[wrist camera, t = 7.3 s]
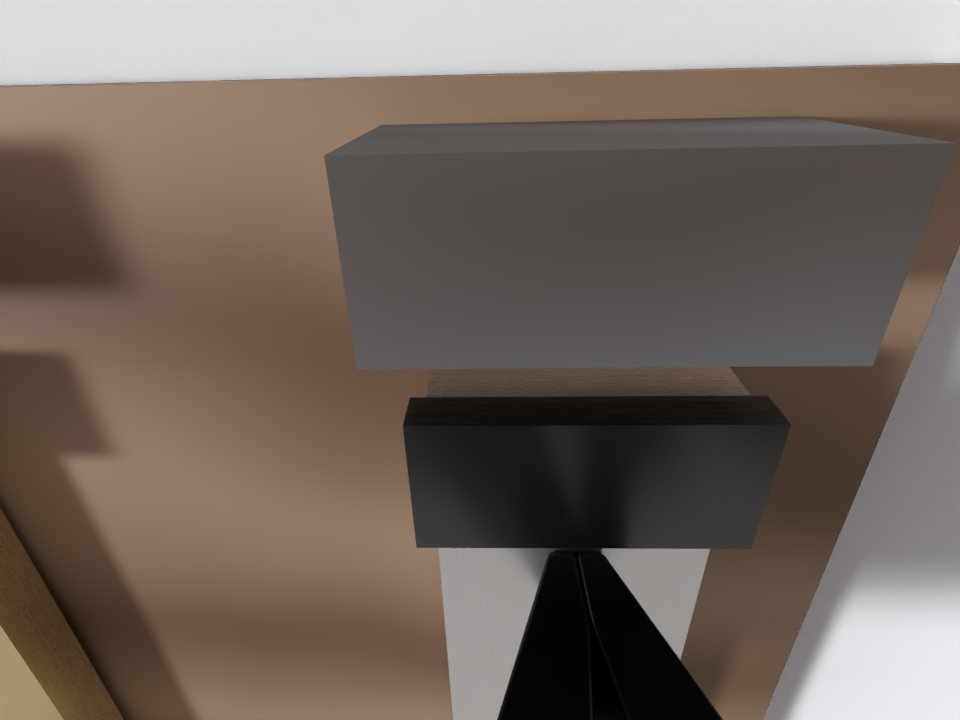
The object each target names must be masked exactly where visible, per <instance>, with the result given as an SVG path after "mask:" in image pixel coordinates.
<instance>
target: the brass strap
mask: <svg viewBox="0 0 960 720" xmlns="http://www.w3.org/2000/svg"><path fill="white" fill-rule="evenodd" d="M0 720H124V719H123V717H122V716H121V714H120V712H119V710H118V709H117V707H116V705H115V704H114V702H113V700H112V698H111V697H110V695H109V693H108V692H107V690H106V688H105V686H104V685H103V683H102V681H101V680H100V678H99V676H98V674H97V673H96V671H95V669H94V668H93V666H92V664H91V662H90V661H89V659H88V657H87V656H86V654H85V652H84V650H83V649H82V647H81V645H80V643H79V642H78V640H77V638H76V637H75V635H74V633H73V631H72V630H71V628H70V626H69V625H68V623H67V621H66V619H65V618H64V616H63V614H62V613H61V611H60V609H59V607H58V606H57V604H56V602H55V601H54V599H53V597H52V595H51V594H50V592H49V590H48V589H47V587H46V585H45V583H44V582H43V580H42V578H41V577H40V575H39V573H38V571H37V570H36V568H35V566H34V565H33V563H32V561H31V559H30V558H29V556H28V554H27V552H26V551H25V549H24V547H23V546H22V544H21V542H20V540H19V539H18V537H17V535H16V534H15V532H14V530H13V528H12V527H11V525H10V523H9V522H8V520H7V518H6V516H5V515H4V513H3V511H2V510H1V508H0Z"/></svg>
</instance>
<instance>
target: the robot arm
mask: <svg viewBox="0 0 960 720" xmlns="http://www.w3.org/2000/svg"><path fill="white" fill-rule="evenodd" d="M497 720H723V718H722V717H721V716H720V714H719V713H718V712H717V710H716V709H715V707H714V706H713V705H712V703H711V702H710V700H709V699H708V698H707V696H706V695H705V694H704V692H703V691H702V689H701V688H700V687H699V685H698V684H697V682H696V681H695V680H694V678H693V677H692V676H691V674H690V673H689V671H688V670H687V669H686V667H685V666H684V664H683V663H682V662H681V660H680V659H679V658H678V656H677V655H676V653H675V652H674V651H673V649H672V648H671V646H670V645H669V644H668V642H667V641H666V640H665V638H664V637H663V635H662V634H661V633H660V631H659V630H658V628H657V627H656V626H655V624H654V623H653V621H652V620H651V619H650V617H649V616H648V615H647V613H646V612H645V610H644V609H643V608H642V606H641V605H640V603H639V602H638V601H637V599H636V598H635V597H634V595H633V594H632V592H631V591H630V590H629V588H628V587H627V585H626V584H625V583H624V581H623V580H622V579H621V577H620V576H619V574H618V573H617V572H616V570H615V569H614V567H613V566H612V565H611V563H610V562H609V561H608V559H607V558H606V557H605V556H604V555H603V554H602V553H598V552H580V553H578V554H576V556H575V555H574V554H573V553H571V552H551V553H549V554H548V556H547V559H546V562H545V565H544V568H543V572H542V575H541V578H540V581H539V585H538V588H537V591H536V595H535V598H534V601H533V604H532V608H531V611H530V614H529V617H528V621H527V624H526V627H525V630H524V634H523V637H522V640H521V643H520V647H519V650H518V653H517V656H516V660H515V663H514V666H513V669H512V673H511V676H510V679H509V682H508V686H507V689H506V692H505V695H504V699H503V702H502V705H501V708H500V712H499V715H498V718H497Z"/></svg>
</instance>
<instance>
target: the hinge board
mask: <svg viewBox="0 0 960 720" xmlns="http://www.w3.org/2000/svg"><path fill="white" fill-rule="evenodd" d="M959 245H960V63H934V64H892V65H850V66H808V67H766V68H724V69H682V70H640V71H598V72H557V73H515V74H473V75H431V76H389V77H347V78H305V79H263V80H221V81H179V82H138V83H96V84H54V85H12V86H0V508H1V510H2V511H3V513H4V515H5V516H6V518H7V520H8V522H9V523H10V525H11V527H12V528H13V530H14V532H15V534H16V535H17V537H18V539H19V540H20V542H21V544H22V546H23V547H24V549H25V551H26V552H27V554H28V556H29V558H30V559H31V561H32V563H33V565H34V566H35V568H36V570H37V571H38V573H39V575H40V577H41V578H42V580H43V582H44V583H45V585H46V587H47V589H48V590H49V592H50V594H51V595H52V597H53V599H54V601H55V602H56V604H57V606H58V607H59V609H60V611H61V613H62V614H63V616H64V618H65V619H66V621H67V623H68V625H69V626H70V628H71V630H72V631H73V633H74V635H75V637H76V638H77V640H78V642H79V643H80V645H81V647H82V649H83V650H84V652H85V654H86V656H87V657H88V659H89V661H90V662H91V664H92V666H93V668H94V669H95V671H96V673H97V674H98V676H99V678H100V680H101V681H102V683H103V685H104V686H105V688H106V690H107V692H108V693H109V695H110V697H111V698H112V700H113V702H114V704H115V705H116V707H117V709H118V710H119V712H120V714H121V716H122V717H123V719H124V720H453V713H452V701H451V689H450V678H449V666H448V654H447V642H446V630H445V619H444V607H443V595H442V583H441V571H440V560H439V548H416V539H415V531H414V522H413V513H412V504H411V495H410V486H409V478H408V469H407V460H406V451H405V442H404V433H403V423H404V419H405V415H406V411H407V407H408V403H409V399H410V397H426V394H427V389H428V384H429V379H430V374H431V369H486V368H630V367H730V368H731V370H732V371H733V372H734V374H735V375H736V376H737V378H738V379H739V380H740V382H741V383H742V384H743V386H744V387H745V388H746V389H747V391H748V392H749V393H750V395H751V396H769V398H770V399H771V400H772V401H773V403H774V404H775V405H776V406H777V408H778V409H779V410H780V411H781V413H782V414H783V415H784V416H785V417H786V419H787V420H788V421H789V422H790V424H791V427H790V430H789V433H788V437H787V440H786V443H785V446H784V449H783V452H782V455H781V458H780V461H779V465H778V468H777V471H776V474H775V477H774V480H773V483H772V486H771V489H770V493H769V496H768V499H767V502H766V505H765V508H764V511H763V514H762V517H761V521H760V524H759V527H758V530H757V533H756V536H755V539H754V542H753V545H752V549H710V551H709V555H708V559H707V562H706V566H705V570H704V573H703V577H702V581H701V585H700V588H699V592H698V596H697V600H696V603H695V607H694V611H693V615H692V618H691V622H690V626H689V629H688V633H687V637H686V641H685V644H684V648H683V652H682V656H681V659H680V660H681V662H682V663H683V664H684V666H685V667H686V669H687V670H688V671H689V673H690V674H691V676H692V677H693V678H694V680H695V681H696V682H697V684H698V685H699V687H700V688H701V689H702V691H703V692H704V694H705V695H706V696H707V698H708V699H709V700H710V702H711V703H712V705H713V706H714V707H715V709H716V710H717V712H718V713H719V714H720V716H721V717H722V718H723V720H762V719H763V717H764V714H765V712H766V710H767V707H768V705H769V702H770V700H771V698H772V695H773V693H774V690H775V688H776V686H777V683H778V681H779V678H780V676H781V674H782V671H783V669H784V666H785V664H786V662H787V659H788V657H789V654H790V652H791V649H792V647H793V645H794V642H795V640H796V637H797V635H798V633H799V630H800V628H801V625H802V623H803V621H804V618H805V616H806V613H807V611H808V609H809V606H810V604H811V601H812V599H813V597H814V594H815V592H816V589H817V587H818V585H819V582H820V580H821V577H822V575H823V573H824V570H825V568H826V565H827V563H828V561H829V558H830V556H831V553H832V551H833V548H834V546H835V544H836V541H837V539H838V536H839V534H840V532H841V529H842V527H843V524H844V522H845V520H846V517H847V515H848V512H849V510H850V508H851V505H852V503H853V500H854V498H855V496H856V493H857V491H858V488H859V486H860V484H861V481H862V479H863V476H864V474H865V472H866V469H867V467H868V464H869V462H870V459H871V457H872V455H873V452H874V450H875V447H876V445H877V443H878V440H879V438H880V435H881V433H882V431H883V428H884V426H885V423H886V421H887V419H888V416H889V414H890V411H891V409H892V407H893V404H894V402H895V399H896V397H897V395H898V392H899V390H900V387H901V385H902V383H903V380H904V378H905V375H906V373H907V371H908V368H909V366H910V363H911V361H912V358H913V356H914V354H915V351H916V349H917V346H918V344H919V342H920V339H921V337H922V334H923V332H924V330H925V327H926V325H927V322H928V320H929V318H930V315H931V313H932V310H933V308H934V306H935V303H936V301H937V298H938V296H939V294H940V291H941V289H942V286H943V284H944V282H945V279H946V277H947V274H948V272H949V269H950V267H951V265H952V262H953V260H954V257H955V255H956V253H957V250H958V248H959Z"/></svg>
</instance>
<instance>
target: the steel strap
mask: <svg viewBox="0 0 960 720" xmlns="http://www.w3.org/2000/svg"><path fill="white" fill-rule="evenodd" d="M790 427H791V424H790V422H789V421H788V420H787V419H786V417H785V416H784V415H783V414H782V413H781V411H780V410H779V409H778V408H777V406H776V405H775V404H774V403H773V401H772V400H771V399H770V398H769V396H751V395H750V393H749V392H748V391H747V389H746V388H745V387H744V386H743V384H742V383H741V382H740V380H739V379H738V378H737V376H736V375H735V374H734V372H733V371H732V370H731V368H730V367H630V368H486V369H431V374H430V379H429V384H428V389H427V394H426V397H410V399H409V403H408V407H407V411H406V415H405V419H404V423H403V433H404V442H405V451H406V460H407V469H408V478H409V486H410V495H411V504H412V513H413V522H414V531H415V539H416V548H439V560H440V571H441V583H442V595H443V607H444V619H445V630H446V642H447V654H448V666H449V678H450V689H451V701H452V713H453V720H497V718H498V715H499V712H500V708H501V705H502V702H503V699H504V695H505V692H506V689H507V686H508V682H509V679H510V676H511V673H512V669H513V666H514V663H515V660H516V656H517V653H518V650H519V647H520V643H521V640H522V637H523V634H524V630H525V627H526V624H527V621H528V617H529V614H530V611H531V608H532V604H533V601H534V598H535V595H536V591H537V588H538V585H539V581H540V578H541V575H542V572H543V568H544V565H545V562H546V559H547V556H548V554H549V553H551V552H571V553H573V554H574V555H575V556H576V554H578V553H580V552H598V553H602V554H603V555H604V556H605V557H606V558H607V559H608V561H609V562H610V563H611V565H612V566H613V567H614V569H615V570H616V572H617V573H618V574H619V576H620V577H621V579H622V580H623V581H624V583H625V584H626V585H627V587H628V588H629V590H630V591H631V592H632V594H633V595H634V597H635V598H636V599H637V601H638V602H639V603H640V605H641V606H642V608H643V609H644V610H645V612H646V613H647V615H648V616H649V617H650V619H651V620H652V621H653V623H654V624H655V626H656V627H657V628H658V630H659V631H660V633H661V634H662V635H663V637H664V638H665V640H666V641H667V642H668V644H669V645H670V646H671V648H672V649H673V651H674V652H675V653H676V655H677V656H678V658H679V659H681V656H682V652H683V648H684V644H685V641H686V637H687V633H688V629H689V626H690V622H691V618H692V615H693V611H694V607H695V603H696V600H697V596H698V592H699V588H700V585H701V581H702V577H703V573H704V570H705V566H706V562H707V559H708V555H709V551H710V549H752V545H753V542H754V539H755V536H756V533H757V530H758V527H759V524H760V521H761V517H762V514H763V511H764V508H765V505H766V502H767V499H768V496H769V493H770V489H771V486H772V483H773V480H774V477H775V474H776V471H777V468H778V465H779V461H780V458H781V455H782V452H783V449H784V446H785V443H786V440H787V437H788V433H789V430H790Z"/></svg>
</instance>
